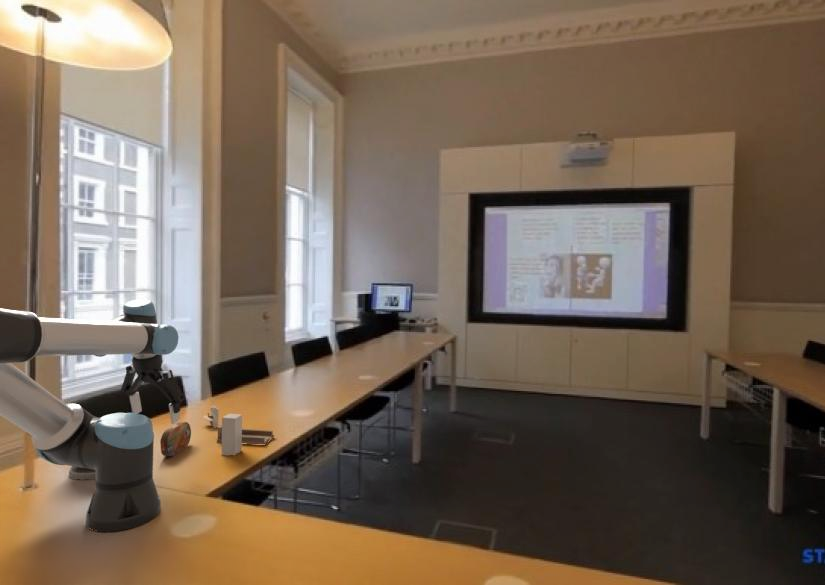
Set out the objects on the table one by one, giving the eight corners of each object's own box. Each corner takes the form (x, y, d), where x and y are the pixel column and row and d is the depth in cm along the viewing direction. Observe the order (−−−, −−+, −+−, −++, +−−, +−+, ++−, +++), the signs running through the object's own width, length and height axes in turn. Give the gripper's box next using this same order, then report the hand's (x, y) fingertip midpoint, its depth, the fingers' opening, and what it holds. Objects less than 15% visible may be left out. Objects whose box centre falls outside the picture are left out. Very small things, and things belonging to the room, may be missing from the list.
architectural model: (209, 430, 177) (209, 410, 177) (201, 426, 182) (202, 406, 182) (218, 428, 180) (218, 408, 179) (210, 424, 185) (211, 405, 184)
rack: (264, 445, 162) (264, 431, 162) (216, 442, 164) (217, 427, 164) (274, 437, 170) (274, 423, 170) (228, 434, 172) (228, 420, 172)
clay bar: (234, 455, 152) (235, 418, 152) (221, 454, 153) (222, 417, 152) (241, 450, 157) (242, 414, 156) (228, 449, 157) (229, 413, 157)
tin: (168, 460, 147) (168, 433, 147) (158, 460, 147) (158, 433, 147) (191, 443, 162) (192, 418, 162) (182, 443, 162) (182, 418, 162)
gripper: (193, 354, 137) (200, 417, 144) (120, 341, 143) (131, 403, 150) (174, 365, 130) (183, 432, 137) (99, 352, 136) (111, 416, 143)
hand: (156, 417), depth 143 cm, fingers open, 13 cm apart
